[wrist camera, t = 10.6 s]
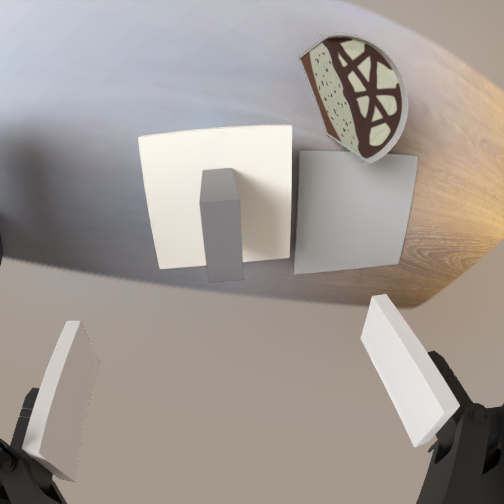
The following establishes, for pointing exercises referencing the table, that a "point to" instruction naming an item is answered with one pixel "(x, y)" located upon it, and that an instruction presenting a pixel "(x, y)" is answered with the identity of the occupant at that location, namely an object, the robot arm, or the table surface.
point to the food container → (357, 93)
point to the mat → (351, 210)
